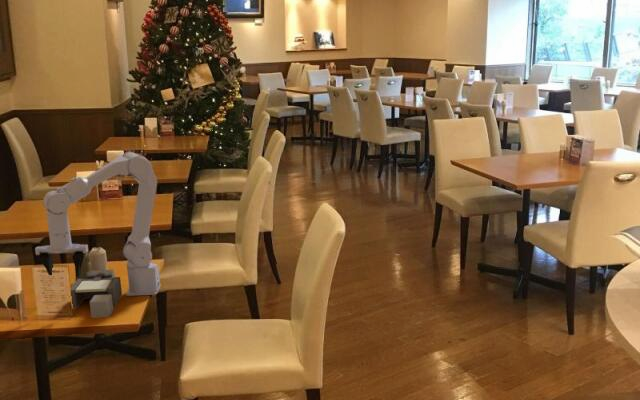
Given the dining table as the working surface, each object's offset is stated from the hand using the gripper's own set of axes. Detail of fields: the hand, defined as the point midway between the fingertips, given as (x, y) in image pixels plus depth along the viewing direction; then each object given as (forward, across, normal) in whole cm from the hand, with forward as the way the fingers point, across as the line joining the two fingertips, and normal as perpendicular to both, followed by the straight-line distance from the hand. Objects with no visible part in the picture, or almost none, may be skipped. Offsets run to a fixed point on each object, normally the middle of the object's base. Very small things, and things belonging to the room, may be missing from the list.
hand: (65, 276), depth 194 cm
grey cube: (+11, +11, -4) cm, 16 cm away
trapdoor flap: (+7, +7, +6) cm, 12 cm away
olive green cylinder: (+11, -1, +20) cm, 22 cm away
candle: (+11, +2, +27) cm, 29 cm away
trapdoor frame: (+10, +7, +5) cm, 13 cm away
